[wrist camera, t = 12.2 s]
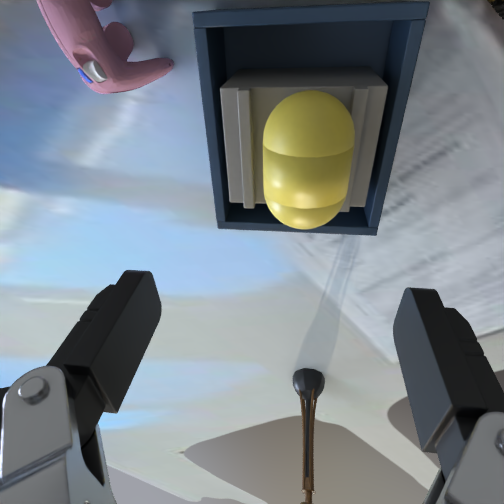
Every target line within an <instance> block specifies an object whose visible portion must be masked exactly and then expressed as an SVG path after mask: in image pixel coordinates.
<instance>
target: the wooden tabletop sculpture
mask: <svg viewBox="0 0 504 504" xmlns="http://www.w3.org/2000/svg"><path fill="white" fill-rule="evenodd" d="M324 384H325V378H324V377H323V375H322V373H321V372H319V371H316V370H314V369H301V370H298V371H295V373H294V375H293V386H294V388H295V391H296V392H297V394H298V395H299V396H300V402H301V412H302V426H303V427H302V429H303V480H302V492H303V493H305V502H302V503H301V504H312V494H315V491H314V479H313V478H314V474H313V473H314V472H313V471H314V470H313V439H314V419H315V409H316V403H317V398H318V397H319V396H320V394H321V393H322V391H323V389H324ZM305 400H306V409H305ZM313 400H314V406H313Z"/></svg>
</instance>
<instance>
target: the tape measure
mask: <svg viewBox="0 0 504 504" xmlns="http://www.w3.org/2000/svg"><path fill="white" fill-rule="evenodd" d="M487 1H488V2H489V3H490V4H491V5H492V7H493V8H494V9H495V11H496V12H497V13H499V16H500V17H502V19H504V0H487Z"/></svg>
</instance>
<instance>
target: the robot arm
mask: <svg viewBox="0 0 504 504" xmlns="http://www.w3.org/2000/svg"><path fill="white" fill-rule="evenodd" d="M160 317H161V301H160V298H159V295H158V291H157V288H156V285H155V281H154V278H153V275H152V273H151V272H150V271H138V270H126V271H125V272H124V273H123V274H122V276H121V277H120V279H119V280H118V282H117V283H116V285H111V284H110V285H109V286H107V287H106V288H105V289H104V290H102V291H101V292H100V293H99V294H97V295H96V296H95V298H94V299H93V301H92V302H91V303H90V305H89V306H88V308H87V311H85V312H84V313H83V315H82V316H81V318H80V321H79V322H77V323H76V325H75V326H74V327H73V329H72V330H71V332H70V333H69V335H68V336H67V337H66V339H65V340H64V342H63V343H62V344H61V346H60V347H59V349H58V350H57V352H56V353H55V354H54V356H53V357H52V359H51V360H50V361H49V363H48V364H47V365H46V366H43V367H39V368H36V369H33V370H31V371H29V372H27V373H26V374H24V375H23V376H21V377H20V378H19V379H17V380H16V381H15V382H14V383H13V384H12V386H10V387H5V388H0V504H117V503H116V500H115V498H114V496H113V493H112V489H111V485H110V480H109V475H108V470H107V464H106V459H105V454H104V449H103V443H102V438H101V433H100V428H99V425H98V421H99V419H100V417H101V415H102V413H103V412H109V413H118V410H119V408H120V406H121V404H122V402H123V399H124V397H125V395H126V393H127V391H128V389H129V386H130V384H131V382H132V380H133V378H134V375H135V373H136V371H137V369H138V367H139V364H140V362H141V360H142V358H143V356H144V353H145V351H146V349H147V347H148V345H149V343H150V340H151V338H152V336H153V334H154V332H155V329H156V327H157V325H158V323H159V320H160ZM393 337H394V343H395V347H396V351H397V354H398V358H399V362H400V366H401V370H402V374H403V378H404V382H405V386H406V390H407V394H408V398H409V402H410V406H411V409H412V414H413V418H414V422H415V425H416V430H417V434H418V437H419V441H420V445H421V450H422V452H430V453H437V454H438V458H439V461H440V465H441V468H440V469H439V471H438V473H437V475H436V477H435V479H434V481H433V483H432V485H431V487H430V489H429V491H428V493H427V496H426V498H425V500H424V502H423V504H504V393H503V390H502V388H501V386H500V384H499V382H498V380H497V378H496V376H495V374H494V372H493V370H492V368H491V366H490V364H489V362H488V360H487V358H486V356H484V352H483V350H482V348H481V346H480V344H479V342H477V338H476V336H475V334H474V332H473V330H472V328H471V326H470V324H469V322H468V321H467V320H466V319H465V318H464V317H463V316H462V315H461V314H460V313H459V312H458V311H457V310H456V309H455V308H444V306H443V303H442V301H441V299H440V297H439V294H438V292H437V291H436V290H435V289H425V288H406V289H405V291H404V293H403V296H402V299H401V302H400V305H399V308H398V311H397V314H396V317H395V320H394V325H393Z"/></svg>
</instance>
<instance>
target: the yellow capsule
mask: <svg viewBox="0 0 504 504" xmlns="http://www.w3.org/2000/svg"><path fill="white" fill-rule="evenodd" d="M354 141H355V130H354V123H353V120H352V118H351V115H350V113H349V112H348V110H347V109H346V107H345V106H344V105H343V104H342V103H341V102H340V101H339V100H338V99H337V98H335V97H334V96H332V95H330V94H328V93H325V92H321V91H317V90H306V91H301V92H298V93H294V94H292V95H290V96H289V97H287V98H285V99H284V100H283V101H281V102H280V103H279V104H278V105H277V106H276V107H275V109H274V110H273V111H272V113H271V114H270V116H269V118H268V120H267V122H266V125H265V128H264V134H263V186H264V197H265V200H266V203H267V206H268V208H269V209H270V211H271V213H272V214H273V215H274V216H275V217H276V218H277V219H278V220H279V221H280V222H282V223H283V224H285V225H287V226H290V227H292V228H296V229H312V228H316V227H319V226H322V225H324V224H326V223H327V222H329V221H330V220H331V219H333V218H334V217H335V216H336V214H337V213H338V212H339V211H340V209H341V207H342V205H343V203H344V201H345V199H346V195H347V190H348V183H349V177H350V170H351V163H352V157H353V150H354V143H355V142H354Z"/></svg>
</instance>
